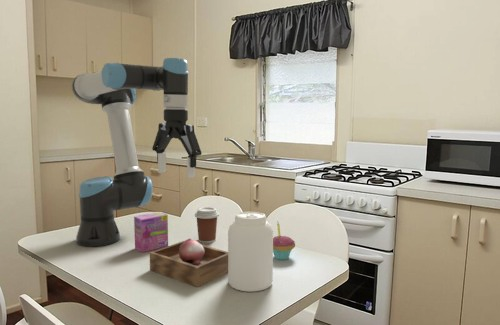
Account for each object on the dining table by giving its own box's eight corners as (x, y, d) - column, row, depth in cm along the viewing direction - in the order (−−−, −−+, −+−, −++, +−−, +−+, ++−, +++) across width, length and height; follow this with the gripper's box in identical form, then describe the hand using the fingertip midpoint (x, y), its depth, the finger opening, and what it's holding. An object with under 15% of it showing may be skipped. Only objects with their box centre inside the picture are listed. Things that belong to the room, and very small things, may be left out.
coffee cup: (192, 243, 148) (191, 211, 147) (198, 236, 157) (197, 205, 156) (216, 244, 147) (216, 212, 146) (221, 237, 156) (221, 206, 155)
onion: (185, 259, 127) (190, 237, 128) (206, 265, 124) (211, 242, 125) (172, 260, 120) (177, 236, 121) (194, 266, 117) (200, 241, 118)
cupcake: (263, 257, 134) (264, 222, 133) (279, 251, 141) (280, 217, 139) (284, 263, 129) (284, 227, 127) (300, 257, 135) (300, 222, 133)
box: (142, 252, 138) (141, 219, 137) (134, 248, 142) (133, 216, 141) (168, 246, 145) (168, 214, 144) (161, 242, 149) (160, 211, 148)
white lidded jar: (278, 289, 110) (279, 218, 107) (234, 295, 106) (234, 221, 104) (264, 272, 122) (264, 207, 119) (223, 277, 118) (223, 210, 116)
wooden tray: (149, 270, 123) (149, 252, 122) (185, 256, 135) (185, 240, 134) (197, 287, 111) (197, 267, 111) (231, 270, 123) (231, 252, 122)
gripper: (140, 107, 132) (142, 171, 135) (195, 109, 117) (195, 181, 120) (158, 108, 138) (159, 169, 141) (213, 109, 123) (212, 178, 126)
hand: (176, 175), depth 130 cm, fingers open, 13 cm apart
